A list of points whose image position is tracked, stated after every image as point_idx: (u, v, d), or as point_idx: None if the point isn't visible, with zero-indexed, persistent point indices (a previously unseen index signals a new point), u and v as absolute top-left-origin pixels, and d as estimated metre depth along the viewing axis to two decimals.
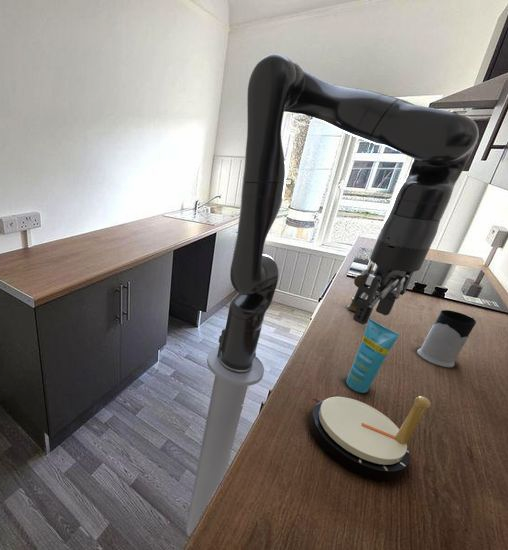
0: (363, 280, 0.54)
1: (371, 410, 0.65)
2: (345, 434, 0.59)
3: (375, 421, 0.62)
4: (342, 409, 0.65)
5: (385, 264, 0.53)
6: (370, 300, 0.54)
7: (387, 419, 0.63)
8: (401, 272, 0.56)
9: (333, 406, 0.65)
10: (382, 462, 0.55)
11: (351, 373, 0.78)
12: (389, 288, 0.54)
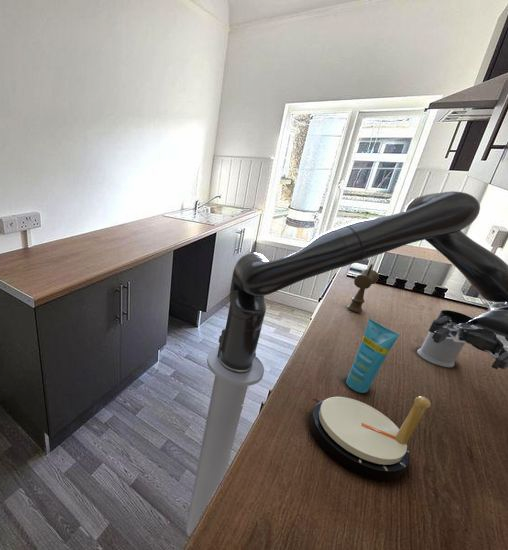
0: None
1: (371, 410, 0.65)
2: (345, 434, 0.59)
3: (375, 421, 0.62)
4: (342, 409, 0.65)
5: None
6: None
7: (387, 419, 0.63)
8: None
9: (333, 406, 0.65)
10: (382, 462, 0.55)
11: (351, 373, 0.78)
12: None
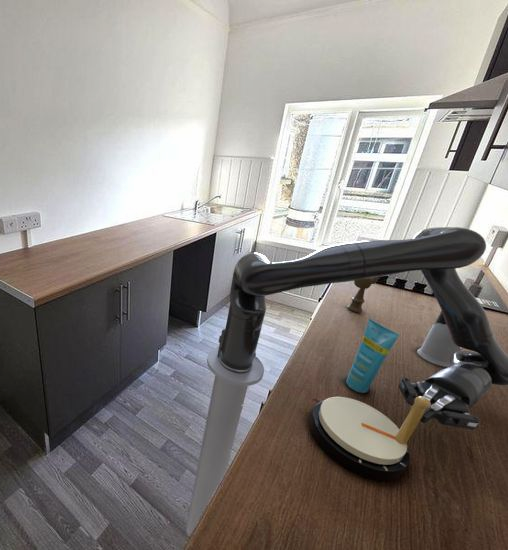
0: (473, 421, 0.55)
1: (371, 410, 0.65)
2: (345, 434, 0.59)
3: (375, 421, 0.62)
4: (342, 409, 0.65)
5: (468, 408, 0.59)
6: None
7: (387, 419, 0.63)
8: None
9: (333, 406, 0.65)
10: (382, 462, 0.55)
11: (351, 373, 0.78)
12: None
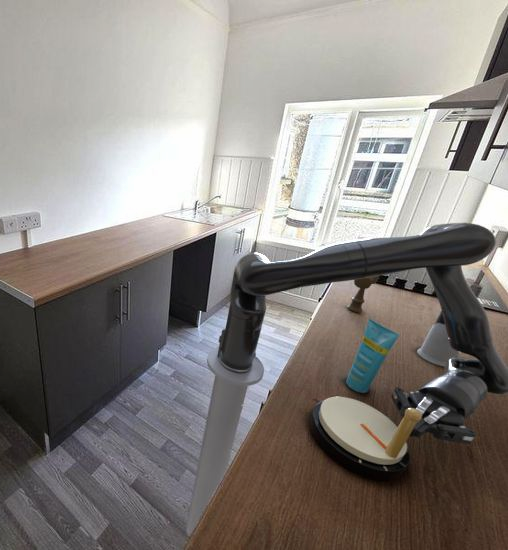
0: (469, 435, 0.52)
1: (393, 429, 0.61)
2: (330, 415, 0.63)
3: (383, 433, 0.60)
4: (356, 410, 0.65)
5: None
6: None
7: None
8: None
9: (349, 403, 0.66)
10: (345, 446, 0.58)
11: (351, 373, 0.78)
12: None
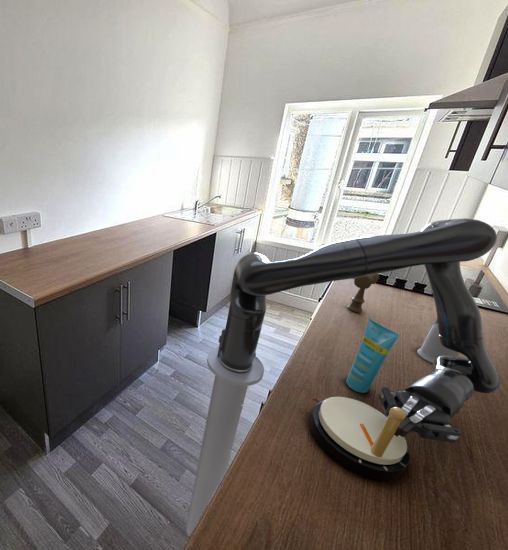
0: (453, 434, 0.52)
1: (398, 440, 0.58)
2: (331, 408, 0.65)
3: None
4: (366, 414, 0.64)
5: (449, 418, 0.56)
6: None
7: (401, 451, 0.56)
8: None
9: (361, 407, 0.66)
10: (330, 433, 0.60)
11: (351, 373, 0.78)
12: None
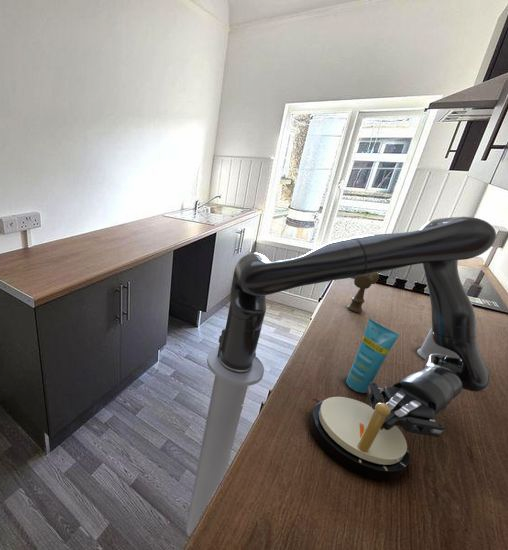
0: (437, 428, 0.53)
1: (397, 447, 0.57)
2: (334, 404, 0.66)
3: (378, 440, 0.58)
4: None
5: (435, 414, 0.57)
6: None
7: (393, 455, 0.55)
8: None
9: (371, 412, 0.64)
10: (322, 423, 0.62)
11: (351, 373, 0.78)
12: None
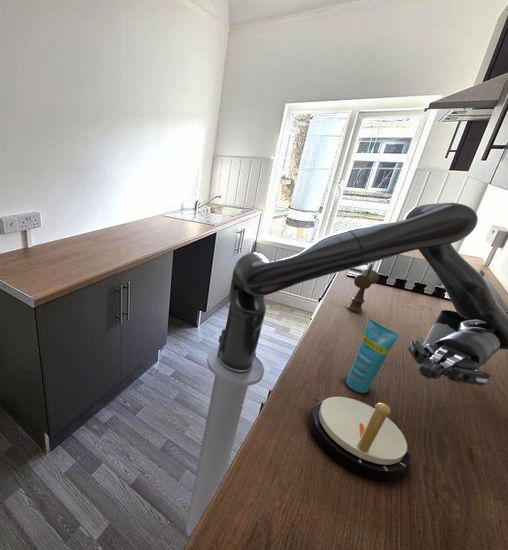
0: (483, 376, 0.56)
1: (397, 447, 0.57)
2: (334, 404, 0.66)
3: (378, 440, 0.58)
4: None
5: None
6: None
7: (393, 455, 0.55)
8: None
9: (371, 412, 0.64)
10: (322, 423, 0.62)
11: (351, 373, 0.78)
12: None
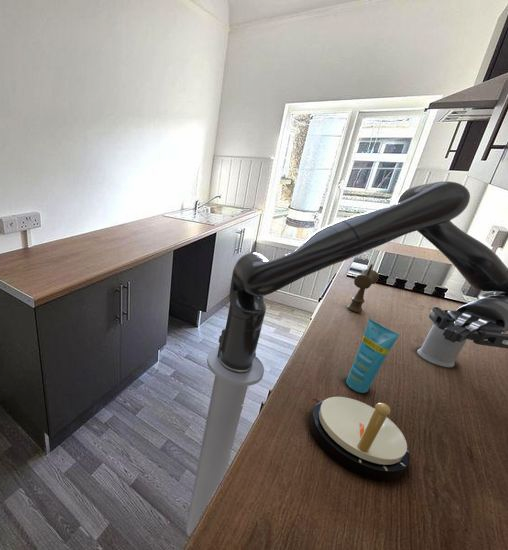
0: None
1: (397, 447, 0.57)
2: (334, 404, 0.66)
3: (378, 440, 0.58)
4: None
5: None
6: None
7: (393, 455, 0.55)
8: None
9: (371, 412, 0.64)
10: (322, 423, 0.62)
11: (351, 373, 0.78)
12: None
